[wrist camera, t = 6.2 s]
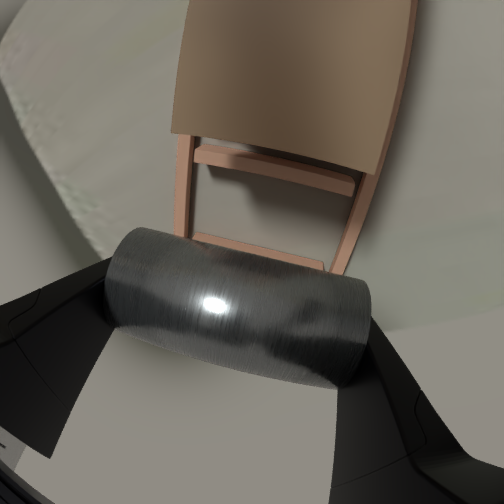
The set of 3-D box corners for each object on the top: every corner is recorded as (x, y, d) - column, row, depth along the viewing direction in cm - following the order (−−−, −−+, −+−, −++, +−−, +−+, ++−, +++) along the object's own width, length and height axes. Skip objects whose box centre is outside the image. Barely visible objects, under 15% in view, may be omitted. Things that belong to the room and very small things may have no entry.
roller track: (416, -56, 4) (423, -64, 3) (338, 275, 15) (339, 289, 14) (229, -90, 5) (222, -100, 4) (178, 236, 16) (169, 248, 15)
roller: (330, 317, 11) (322, 402, 8) (160, 275, 11) (123, 348, 9) (367, 256, 8) (373, 362, 6) (149, 205, 9) (88, 287, 6)
